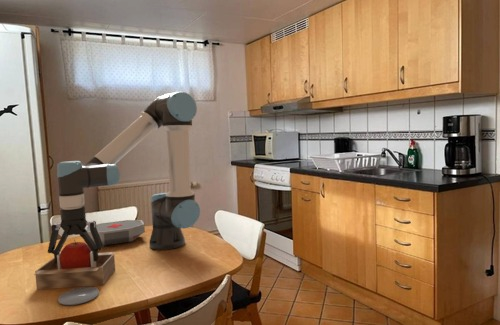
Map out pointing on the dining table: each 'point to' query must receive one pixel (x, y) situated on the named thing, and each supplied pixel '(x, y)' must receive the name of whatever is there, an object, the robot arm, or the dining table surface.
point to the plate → (78, 295)
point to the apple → (75, 256)
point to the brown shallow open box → (75, 274)
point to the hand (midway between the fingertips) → (77, 271)
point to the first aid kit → (118, 231)
